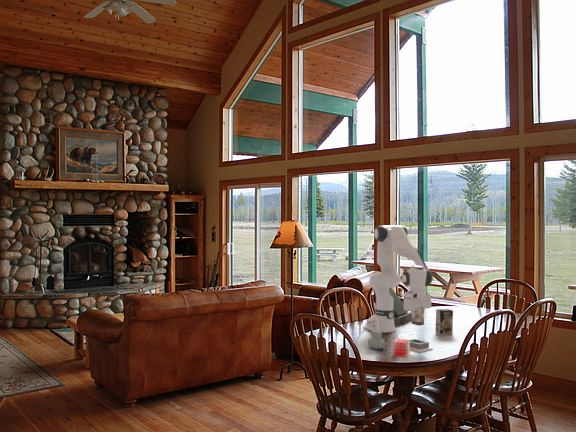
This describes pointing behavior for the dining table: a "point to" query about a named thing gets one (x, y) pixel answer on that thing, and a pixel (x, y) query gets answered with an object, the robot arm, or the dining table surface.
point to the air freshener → (376, 340)
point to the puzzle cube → (401, 347)
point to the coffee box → (444, 322)
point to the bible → (399, 310)
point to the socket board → (419, 345)
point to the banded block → (418, 317)
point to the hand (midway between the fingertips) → (417, 317)
